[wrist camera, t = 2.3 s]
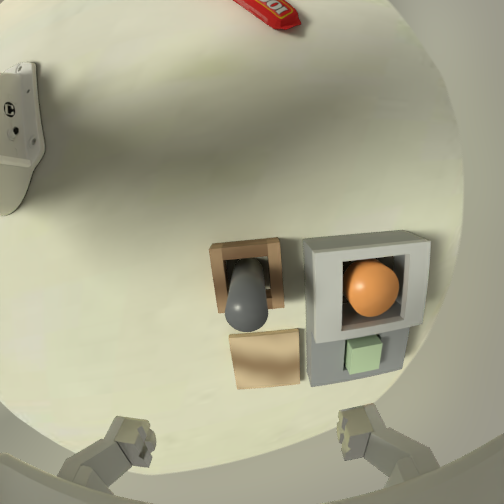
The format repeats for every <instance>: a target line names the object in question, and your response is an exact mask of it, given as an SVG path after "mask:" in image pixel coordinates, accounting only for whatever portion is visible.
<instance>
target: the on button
mask: <svg viewBox="0 0 504 504" xmlns="http://www.w3.org/2000/svg"><path fill="white" fill-rule="evenodd" d="M382 344H383V343H382V342H381V340H380V339H379V338H378V336H377V335H370V336H365V337H359V338H353V339H347V340H345V352H344V363H345V365H346V368H347V370H348V372H349V374H350V375H351V374H356V373H361V372H366V371H371V370H375V369H379V364H380V358H381V351H382Z"/></svg>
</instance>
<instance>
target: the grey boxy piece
mask: <svg viewBox="0 0 504 504" xmlns="http://www.w3.org/2000/svg"><path fill="white" fill-rule="evenodd" d="M430 251H431V241H429V240H427V239H424V238H422V237H419V236H417V235H415V234H412V233H410V232H407V231H404V230H397V231H385V232H373V233H362V234H350V235H339V236H328V237H317V238H306V239H303V255H304V275H305V300H306V343H307V373H308V377H309V381H310V385H311V387H315V386H322V385H328V384H334V383H340V382H345V381H351V380H356V379H361V378H365V377H370V376H375V375H379V374H383V373H388V372H392V371H396V370H400V369H402V366H403V361H404V357H405V351H406V346H407V340H408V335H409V328H410V327H411V326H416V325H420V324H422V323H423V316H424V310H425V303H426V295H427V286H428V277H429V265H430ZM388 256H394V265H393V272H394V273H395V274H396V276H397V278H398V282H399V292H398V295H397V298H396V300H395V302H394V303H393V305H392V306H391V307H390V308H389V309H388V310H387V311H386V312H384V313H382V314H380V315H378V316H374V317H366V316H363V315H361V314H359V313H358V312H356V311H355V309H354V308H353V307H352V305H351V304H350V303H344V304H342V290H343V261H353V260H361V259H370V258H379V257H388ZM376 334H378V338H379V339H380V340H381V342H382V343H383V344H382V351H381V358H380V364H379V369H375V370H371V371H366V372H361V373H356V374H351V375H350V374H349V372H348V370H347V368H346V365H345V363H344V352H345V340H347V339H353V338H359V337H365V336H370V335H376Z"/></svg>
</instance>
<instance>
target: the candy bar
mask: <svg viewBox="0 0 504 504" xmlns="http://www.w3.org/2000/svg"><path fill="white" fill-rule="evenodd" d="M233 1H235V2H236V3H238V4H239V5H241V6H242V7H243V8H245V9H246V10H248V11H249V12H251V13H252V14H253V15H255V16H256V17H257V18H259V19H260V20H262V21H263V22H264V23H266V24H267V25H269V26H270V27H272V28H273V29H277V30H278V29H285V30H287V29H289V28H291V27H294V26H297V25H300V24H301V21H300V20H299V17H298V13H297V11H296V9H295V8H293V7H292V6H291V5H290V4H289V3H287V2H286V1H285V0H233Z"/></svg>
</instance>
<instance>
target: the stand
mask: <svg viewBox="0 0 504 504" xmlns="http://www.w3.org/2000/svg"><path fill="white" fill-rule="evenodd" d="M209 253H210V261H211V268H212V275H213V281H214V288H215V295H216V301H217V307H218V313H225V308H226V303H227V298H228V293H229V280H228V272H227V265H226V260H231V259H242V258H252V257H263V256H268V266H269V278H270V289H265V290H266V298H267V307H268V309H275V308H284V293H283V278H282V264H281V251H280V242H279V239H278V237H276V238H266V239H255V240H245V241H235V242H225V243H215V244H212V245H211V247H210V249H209Z"/></svg>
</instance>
